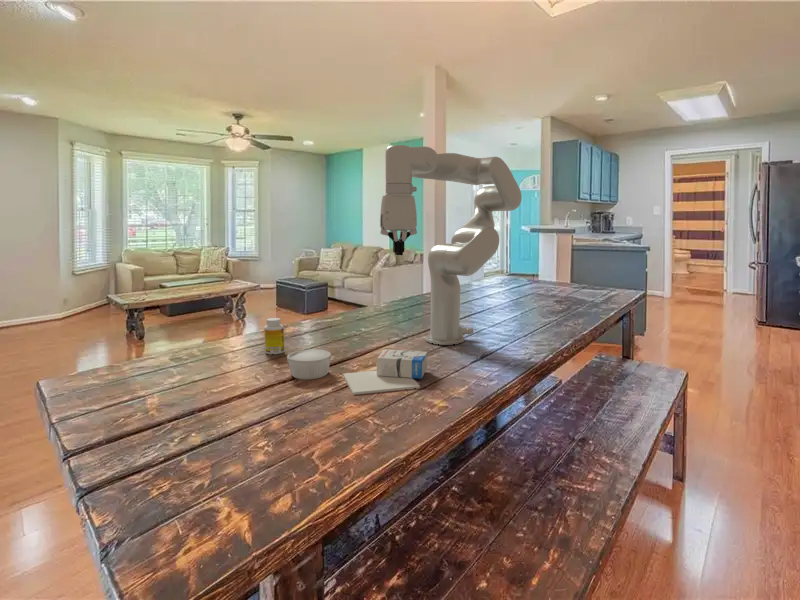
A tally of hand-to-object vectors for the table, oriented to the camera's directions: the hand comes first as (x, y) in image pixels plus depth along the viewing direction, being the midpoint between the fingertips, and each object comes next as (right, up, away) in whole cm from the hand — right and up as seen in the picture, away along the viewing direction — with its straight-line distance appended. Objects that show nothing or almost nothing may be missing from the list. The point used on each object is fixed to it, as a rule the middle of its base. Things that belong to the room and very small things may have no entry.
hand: (398, 254), depth 142 cm
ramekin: (-23, -33, -16) cm, 43 cm away
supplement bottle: (-37, -29, +4) cm, 47 cm away
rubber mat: (-5, -33, -22) cm, 40 cm away
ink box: (+7, -30, -18) cm, 36 cm away
